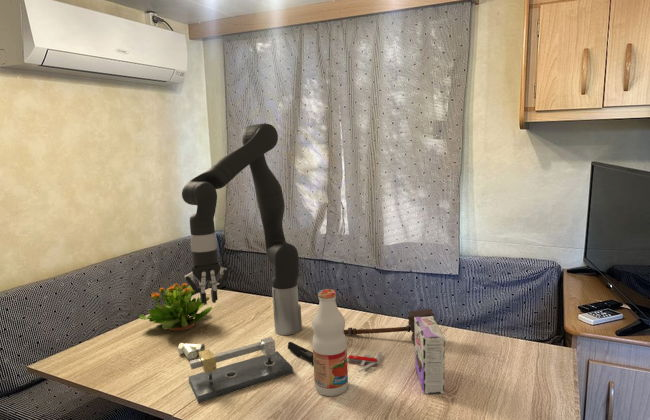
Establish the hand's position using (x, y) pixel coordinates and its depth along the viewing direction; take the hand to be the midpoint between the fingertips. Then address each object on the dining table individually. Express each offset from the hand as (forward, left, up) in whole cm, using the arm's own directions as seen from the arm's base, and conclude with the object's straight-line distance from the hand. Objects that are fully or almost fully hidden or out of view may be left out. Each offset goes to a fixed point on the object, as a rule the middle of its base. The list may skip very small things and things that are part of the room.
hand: (209, 302), depth 133 cm
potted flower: (+2, -39, -21) cm, 44 cm away
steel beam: (-4, +10, -19) cm, 21 cm away
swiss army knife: (-39, +23, -21) cm, 50 cm away
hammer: (-56, +15, -21) cm, 62 cm away
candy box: (-50, +42, -21) cm, 69 cm away
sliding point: (+4, +9, -19) cm, 21 cm away
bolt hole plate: (-5, +11, -21) cm, 24 cm away
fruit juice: (-25, +30, -21) cm, 44 cm away
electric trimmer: (-26, +10, -22) cm, 35 cm away
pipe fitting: (+5, -12, -22) cm, 25 cm away
